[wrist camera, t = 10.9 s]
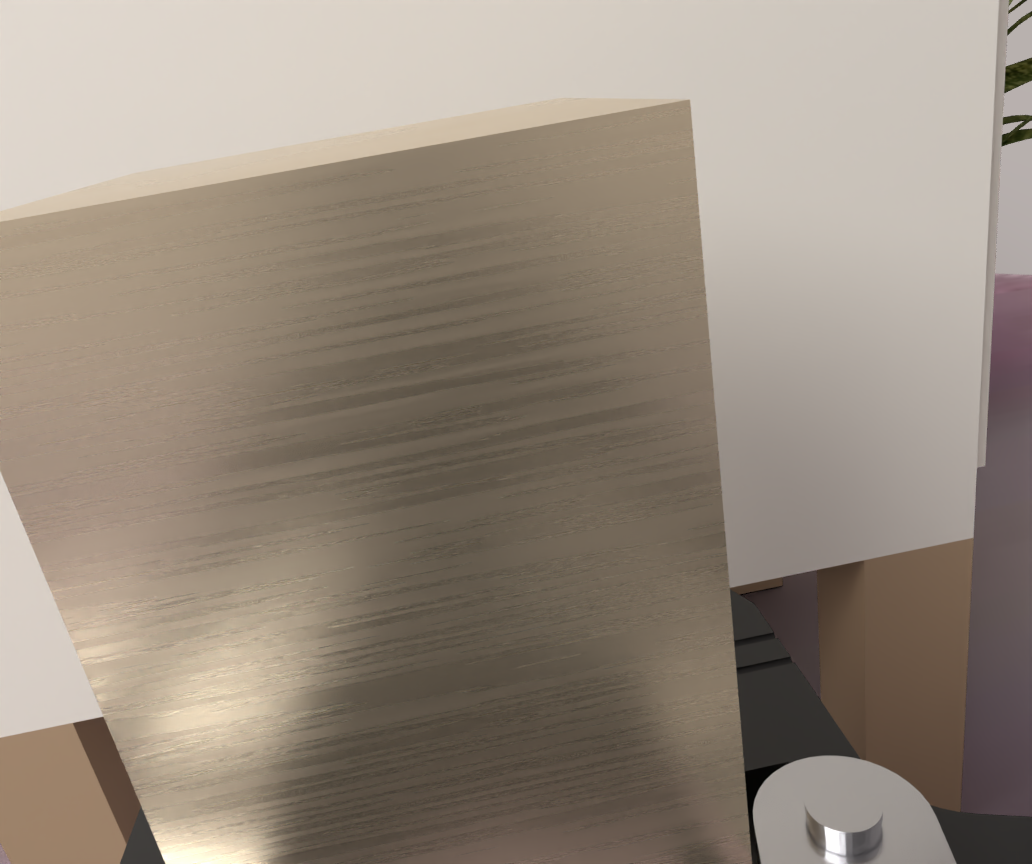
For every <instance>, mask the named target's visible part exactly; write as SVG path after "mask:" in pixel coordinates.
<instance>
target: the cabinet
mask: <svg viewBox="0 0 1032 864" xmlns="http://www.w3.org/2000/svg"><path fill="white" fill-rule="evenodd" d="M1008 9H1009V0H0V211H3V210H6V209H10V208H13V207H17V206H20V205H24V204H27V203H31V202H34V201H38V200H41V199H45V198H48V197H52V196H55V195H59V194H62V193H66V192H69V191H73V190H76V189H80V188H83V187H87V186H90V185H94V184H97V183H101V182H104V181H108V180H111V179H115V178H118V177H122V176H125V175H129V174H132V173H137V172H142V171H148V170H154V169H159V168H165V167H171V166H176V165H182V164H188V163H193V162H199V161H205V160H211V159H216V158H222V157H228V156H233V155H239V154H245V153H250V152H256V151H262V150H267V149H273V148H279V147H284V146H290V145H296V144H301V143H307V142H313V141H318V140H324V139H330V138H336V137H341V136H347V135H353V134H358V133H364V132H370V131H375V130H381V129H387V128H392V127H398V126H404V125H409V124H415V123H421V122H426V121H432V120H438V119H444V118H449V117H455V116H461V115H466V114H472V113H478V112H483V111H489V110H495V109H500V108H506V107H512V106H517V105H523V104H529V103H534V102H540V101H546V100H552V99H557V98H620V99H690V104H691V116H692V128H693V141H694V153H695V165H696V178H697V190H698V202H699V215H700V227H701V240H702V252H703V264H704V277H705V289H706V301H707V314H708V326H709V338H710V351H711V363H712V375H713V388H714V400H715V412H716V425H717V437H718V449H719V462H720V474H721V487H722V499H723V511H724V524H725V536H726V548H727V561H728V573H729V585H730V589H731V590H732V591H734V592H736V593H737V594H743V593H748V592H753V591H758V590H763V589H768V588H773V587H777V586H782V585H783V580H782V577H785V576H790V575H795V574H799V573H804V572H809V571H814V570H817V591H818V623H819V654H820V686H821V702H822V703H823V705H824V706H825V708H826V709H827V711H828V712H829V713H830V715H831V716H832V718H833V719H834V721H835V722H836V724H837V725H838V727H839V728H840V729H841V731H842V732H843V734H844V735H845V737H846V738H847V740H848V741H849V743H850V744H851V746H852V747H853V748H854V750H855V751H856V753H857V754H858V756H859V757H860V758H861V760H865V761H869V762H871V763H874V764H877V765H879V766H882V767H884V768H886V769H888V770H890V771H892V772H894V773H896V774H898V775H899V776H901V777H902V778H903V779H905V780H906V781H908V782H909V783H910V784H911V785H913V786H914V787H915V788H916V789H917V790H918V791H919V792H920V793H921V794H922V795H923V797H924V798H925V799H926V800H927V802H928V803H929V804H930V805H933V806H936V807H939V808H943V809H947V810H952V811H957V812H961V791H962V770H963V749H964V728H965V707H966V686H967V665H968V644H969V622H970V601H971V580H972V559H973V538H974V517H975V496H976V475H977V468H978V467H983V466H985V457H986V438H987V418H988V399H989V379H990V360H991V340H992V321H993V301H994V282H995V262H996V243H997V223H998V204H999V203H998V202H999V184H1000V165H1001V145H1002V125H1003V106H1004V87H1005V67H1006V47H1007V27H1008ZM140 808H141V804H140V802H139V800H138V797H137V795H136V792H135V790H134V788H133V785H132V783H131V781H130V778H129V776H128V773H127V771H126V769H125V766H124V764H123V762H122V759H121V757H120V754H119V752H118V750H117V747H116V745H115V743H114V740H113V738H112V735H111V733H110V731H109V728H108V726H107V724H106V721H105V719H104V716H103V714H102V712H101V709H100V707H99V704H98V702H97V700H96V697H95V695H94V693H93V690H92V688H91V685H90V683H89V681H88V678H87V676H86V674H85V671H84V669H83V666H82V664H81V662H80V659H79V657H78V655H77V652H76V650H75V647H74V645H73V643H72V640H71V638H70V636H69V633H68V631H67V628H66V626H65V624H64V621H63V619H62V617H61V614H60V612H59V609H58V607H57V605H56V602H55V600H54V598H53V595H52V593H51V590H50V588H49V586H48V583H47V581H46V579H45V576H44V574H43V571H42V569H41V567H40V564H39V562H38V560H37V557H36V555H35V552H34V550H33V548H32V545H31V543H30V541H29V538H28V536H27V533H26V531H25V529H24V526H23V524H22V522H21V519H20V517H19V514H18V512H17V510H16V507H15V505H14V503H13V500H12V498H11V495H10V493H9V491H8V488H7V486H6V484H5V481H4V479H3V476H2V474H1V472H0V843H1V845H2V847H3V849H4V851H5V853H6V854H7V856H8V858H9V860H10V862H11V864H120V862H121V859H122V856H123V854H124V851H125V848H126V845H127V843H128V840H129V837H130V835H131V832H132V829H133V827H134V824H135V821H136V818H137V816H138V813H139V810H140Z"/></svg>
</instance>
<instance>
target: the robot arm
mask: <svg viewBox="0 0 1032 864" xmlns="http://www.w3.org/2000/svg"><path fill="white" fill-rule="evenodd" d="M730 598H731V610H732V622H733V635H734V647H735V660H736V672H737V684H738V697H739V709H740V721H741V734H742V746H743V758H744V771H745V783H746V795H747V808H748V820H749V832H750V845H751V857H752V864H1032V817H1025V816H1007V815H988V814H973V813H964V812H957V811H952V810H947V809H943V808H939V807H936V806H933V805H930V804H929V803H928V802H927V800H926V799H925V798H924V797H923V795H922V794H921V793H920V792H919V791H918V790H917V789H916V788H915V787H914V786H913V785H911V784H910V783H909V782H908V781H906V780H905V779H903V778H902V777H901V776H899V775H898V774H896V773H894V772H892V771H890V770H888V769H886V768H884V767H882V766H879V765H877V764H874V763H871V762H869V761H865V760H861V758H860V757H859V756H858V754H857V753H856V751H855V750H854V748H853V747H852V746H851V744H850V743H849V741H848V740H847V738H846V737H845V735H844V734H843V732H842V731H841V729H840V728H839V727H838V725H837V724H836V722H835V721H834V719H833V718H832V716H831V715H830V713H829V712H828V711H827V709H826V708H825V706H824V705H823V703H822V702H821V700H820V699H819V697H818V696H817V695H816V693H815V692H814V690H813V689H812V687H811V686H810V684H809V683H808V681H807V680H806V678H805V677H804V676H803V674H802V673H801V671H800V670H799V668H798V667H797V665H796V664H795V663H792V661H791V657H790V655H789V654H788V652H787V651H786V649H785V648H784V646H783V645H782V644H781V642H780V641H779V639H778V638H775V636H774V632H773V630H772V629H771V627H770V626H769V625H768V623H767V622H766V620H765V619H764V617H763V616H762V614H761V613H760V611H759V610H758V609H757V607H756V606H755V604H754V603H752V602H750V601H749V600H747V599H745V598H744V597H742V596H740V595H739V594H737V593H736V592H734V591H732V590H731V589H730ZM120 864H165V861H164V859H163V857H162V854H161V852H160V849H159V847H158V845H157V842H156V840H155V838H154V835H153V833H152V830H151V828H150V826H149V823H148V821H147V819H146V816H145V814H144V811H143V809H142V807H141V808H140V810H139V813H138V816H137V818H136V821H135V824H134V827H133V829H132V832H131V835H130V837H129V840H128V843H127V845H126V848H125V851H124V854H123V856H122V859H121V862H120Z"/></svg>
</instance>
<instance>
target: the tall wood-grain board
mask: <svg viewBox="0 0 1032 864" xmlns="http://www.w3.org/2000/svg"><path fill="white" fill-rule="evenodd" d="M0 472H1V474H2V476H3V479H4V481H5V484H6V486H7V488H8V491H9V493H10V495H11V498H12V500H13V503H14V505H15V507H16V510H17V512H18V514H19V517H20V519H21V522H22V524H23V526H24V529H25V531H26V533H27V536H28V538H29V541H30V543H31V545H32V548H33V550H34V552H35V555H36V557H37V560H38V562H39V564H40V567H41V569H42V571H43V574H44V576H45V579H46V581H47V583H48V586H49V588H50V590H51V593H52V595H53V598H54V600H55V602H56V605H57V607H58V609H59V612H60V614H61V617H62V619H63V621H64V624H65V626H66V628H67V631H68V633H69V636H70V638H71V640H72V643H73V645H74V647H75V650H76V652H77V655H78V657H79V659H80V662H81V664H82V666H83V669H84V671H85V674H86V676H87V678H88V681H89V683H90V685H91V688H92V690H93V693H94V695H95V697H96V700H97V702H98V704H99V707H100V709H101V712H102V714H103V716H104V719H105V721H106V724H107V726H108V728H109V731H110V733H111V735H112V738H113V740H114V743H115V745H116V747H117V750H118V752H119V754H120V757H121V759H122V762H123V764H124V766H125V769H126V771H127V773H128V776H129V778H130V781H131V783H132V785H133V788H134V790H135V792H136V795H137V797H138V800H139V802H140V804H141V807H142V809H143V811H144V814H145V816H146V819H147V821H148V823H149V826H150V828H151V830H152V833H153V835H154V838H155V840H156V842H157V845H158V847H159V849H160V852H161V854H162V857H163V859H164V861H165V864H752V857H751V845H750V832H749V820H748V808H747V795H746V783H745V771H744V758H743V746H742V734H741V721H740V709H739V697H738V684H737V672H736V660H735V647H734V635H733V622H732V610H731V598H730V585H729V573H728V561H727V548H726V536H725V524H724V511H723V499H722V487H721V474H720V462H719V449H718V437H717V425H716V412H715V400H714V388H713V375H712V363H711V351H710V338H709V326H708V314H707V301H706V289H705V277H704V264H703V252H702V240H701V227H700V215H699V202H698V190H697V178H696V165H695V153H694V141H693V128H692V116H691V104H690V99H620V98H557V99H552V100H546V101H540V102H534V103H529V104H523V105H517V106H512V107H506V108H500V109H495V110H489V111H483V112H478V113H472V114H466V115H461V116H455V117H449V118H444V119H438V120H432V121H426V122H421V123H415V124H409V125H404V126H398V127H392V128H387V129H381V130H375V131H370V132H364V133H358V134H353V135H347V136H341V137H336V138H330V139H324V140H318V141H313V142H307V143H301V144H296V145H290V146H284V147H279V148H273V149H267V150H262V151H256V152H250V153H245V154H239V155H233V156H228V157H222V158H216V159H211V160H205V161H199V162H193V163H188V164H182V165H176V166H171V167H165V168H159V169H154V170H148V171H142V172H137V173H132V174H129V175H125V176H122V177H118V178H115V179H111V180H108V181H104V182H101V183H97V184H94V185H90V186H87V187H83V188H80V189H76V190H73V191H69V192H66V193H62V194H59V195H55V196H52V197H48V198H45V199H41V200H38V201H34V202H31V203H27V204H24V205H20V206H17V207H13V208H10V209H6V210H3V211H0Z"/></svg>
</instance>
